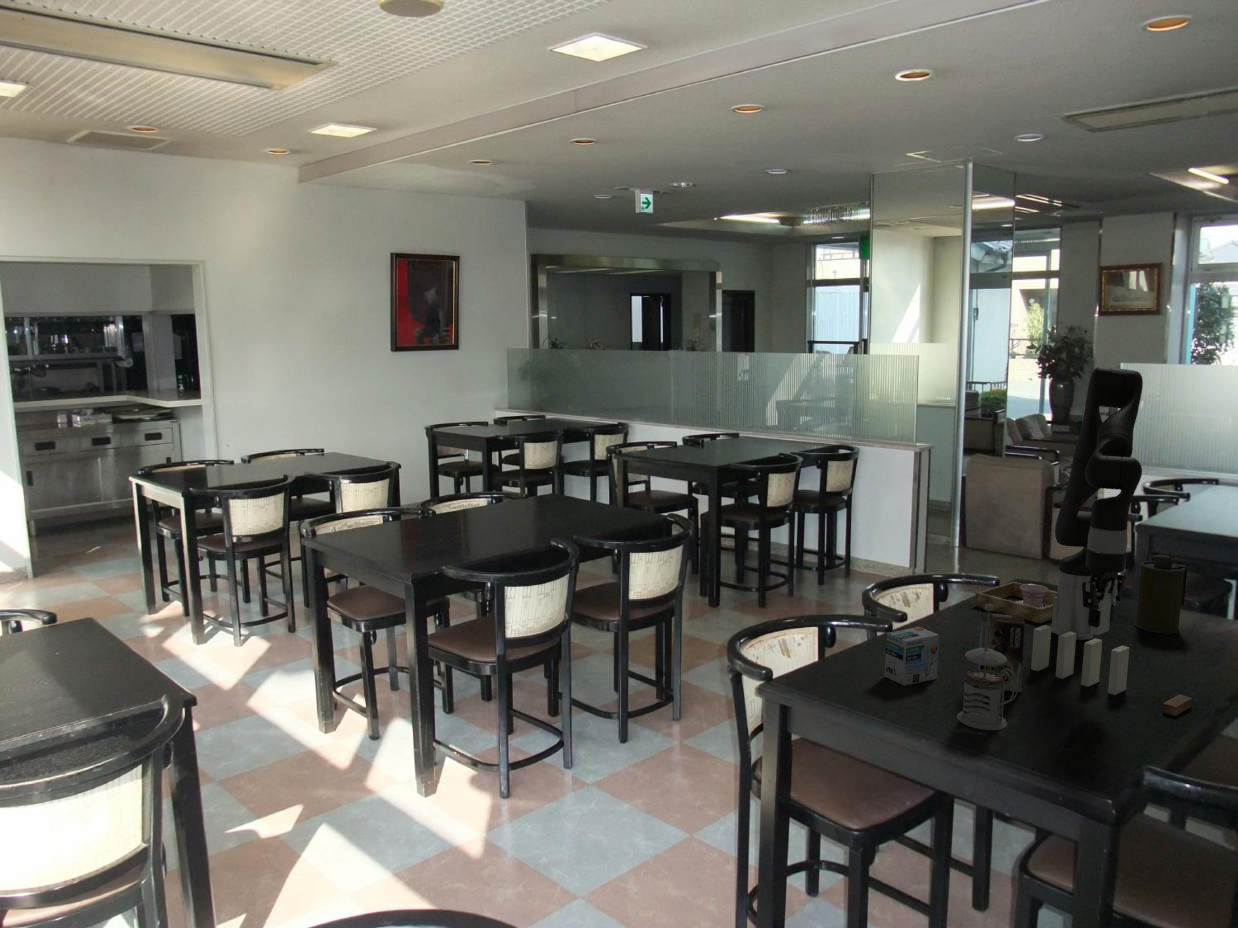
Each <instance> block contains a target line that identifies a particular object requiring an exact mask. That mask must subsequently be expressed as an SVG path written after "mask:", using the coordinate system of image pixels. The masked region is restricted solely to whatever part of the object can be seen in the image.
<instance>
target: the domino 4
mask: <svg viewBox="0 0 1238 928" xmlns="http://www.w3.org/2000/svg"><path fill="white" fill-rule="evenodd" d="M1129 658H1130V647H1128V646H1126V645H1120V646H1117V647H1115V648H1113V649H1111V654H1110V665H1109V675H1108V688H1107V693H1108V694H1110V695H1113V696H1117V695H1118V694H1121V693H1122V692H1124V691H1126V690H1127V679H1128V671H1129V670H1128V669H1129V668H1128V667H1129Z"/></svg>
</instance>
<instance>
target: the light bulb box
mask: <svg viewBox="0 0 1238 928" xmlns="http://www.w3.org/2000/svg"><path fill="white" fill-rule="evenodd" d="M885 645H886V646H885V657H884V659H885V662H884V677H885V678H887V679H889V680H891V681H893V682H896V683H898V684H899V685H902V686H909V685H913V684H919V683H923V682H927V681H933V680H937V679H938V665H939V664H938V663H939V646H940V634H938V633H936V632H933V631H930V630H927V629H925V628H923V627H920V626H916V627H911V628H907V629H901V630H895V631H891V632H890V631H889V632H886V638H885Z"/></svg>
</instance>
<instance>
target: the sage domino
mask: <svg viewBox="0 0 1238 928" xmlns="http://www.w3.org/2000/svg"><path fill="white" fill-rule="evenodd" d="M1111 593H1112V591H1111ZM1111 593H1110V594H1107V597H1106V600H1105V601H1103V603H1102V607H1101V610H1100V611H1101V617H1100V626H1099V627H1093V626H1090V633H1091V634H1093V635H1094V636H1095V635H1096V636H1099V635H1101V634H1104V633H1106V632H1109V631H1110V623H1111V622H1110V612H1111ZM1101 595H1102V593H1101V592H1100V593H1099V592H1097V596H1101ZM1097 603H1098V599H1097Z"/></svg>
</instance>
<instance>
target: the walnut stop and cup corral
mask: <svg viewBox="0 0 1238 928" xmlns="http://www.w3.org/2000/svg"><path fill="white" fill-rule="evenodd" d="M1023 584H1024V583H1021V582H1017V581H1010V582H1007V583H1004V584H1000V585H997V586H994V587H990V588H988V589H984V590H982V591H977V592H975V597H974V598H975V600H974V602H975V603H974V606H975V607H976V606H979V607H978V608H980V607H981V608H980V609H984V607H985V605H986V604H992V605H993V607H994V610H993V611H992V612H995V611H997V612H996V613H999V612H1001V613H1000V614H1002V613H1004V614H1008V615H1019V616H1023V619H1024V621H1025V620H1026V621H1030V622H1033V623H1037V624H1045V623H1047V622H1050V621H1052V620H1051V619H1052V612H1053V599H1054V598H1055V597H1057V591H1055V590H1050V589H1049V591H1048V593H1047V594H1045V596H1046V597H1044V599H1043V603H1047V604H1050V605H1048V606H1045V607H1042V608H1038V607H1034V606H1030V605H1026V604H1022V603H1018V602H1016V601H1013V600H1010V599H1006V598H1005V597H1007V598H1009V597H1008V596H1010V597H1013V596H1014V597H1017V596H1018V598H1022V599H1023V595H1022V591H1021V590H1020V589H1019V587H1020V586H1021V585H1023ZM1002 598H1004V599H1002ZM1192 702H1193V698H1192V697H1190V696H1188V695H1184V694H1183V695H1182V694H1180V693H1179V694H1178V695H1176V696H1174V697H1172V698H1171V699H1168V700H1166V701H1165V702H1163V704H1162V713H1164V714H1166V715H1169V716H1173V717H1176V716H1178V715H1180V714H1182V713H1184V712H1185V711H1187V710H1189V709H1191V707H1192Z"/></svg>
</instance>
